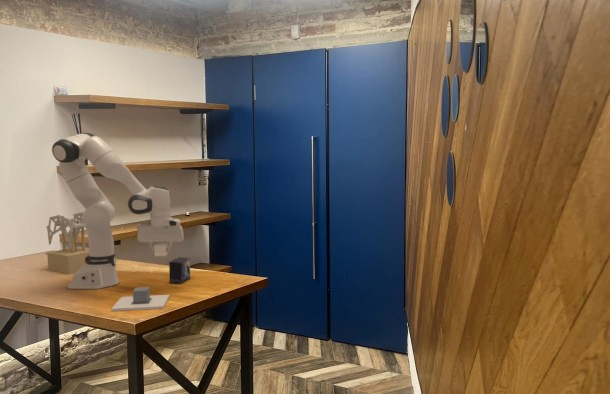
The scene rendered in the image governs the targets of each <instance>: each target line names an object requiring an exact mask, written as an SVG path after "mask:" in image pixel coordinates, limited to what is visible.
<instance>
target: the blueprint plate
mask: <svg viewBox="0 0 610 394" xmlns="http://www.w3.org/2000/svg"><path fill="white" fill-rule="evenodd" d="M170 295H171V294H159V295H158V294H156V295H155V294H153V295H150V299H149V301H148V302H147V303H133V295H132V296H121V297H120V298H119V300H117V302H115V304H114V305H113V306H112V307H111V312H123V311H140V310H141V311H144V310H162V309H164V308H165V306H166V305H167V303H168V301H169V299H170V297H171V296H170Z"/></svg>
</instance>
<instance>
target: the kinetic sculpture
mask: <svg viewBox="0 0 610 394" xmlns="http://www.w3.org/2000/svg"><path fill="white" fill-rule="evenodd" d="M84 212H85V211H82V212H78V213H74V214H72V216H73V218H70V219H69V218H67V217H65V216H64V215H61V214H58V215H54V216H49V219H48V225H47V226H46V229H47V230H46V231H47V239H48V245H49V246H50V245H51V244H52V241H53V236H54V235H56V233H58V232H61V239H62V240H61V241H62V243H61V245H62V249H60V250H55V251H54V250H53V251H47V252H45V255H46V256H47V268H46V272H55V273H59V274H65V275H72V274H73V275H74V273H75V272H76V271H77V270H78V269H80V268H81V267H82V266H83V265H85V264H86V262H85V261H84V260H85V257H87V255H89V247H86V244H85V243H86V242H85V241H86V240H85V239H86V238H85V229H86V226H85V222H84V220H83V214H84ZM51 222H53V224H54V227H53V230H52V229H51V224H52V223H51ZM57 227H58V228H57ZM67 228H69V230H67ZM79 233H81V246H77V240H78V237H79ZM66 241H67V245H68V247H69V248H66Z"/></svg>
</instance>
